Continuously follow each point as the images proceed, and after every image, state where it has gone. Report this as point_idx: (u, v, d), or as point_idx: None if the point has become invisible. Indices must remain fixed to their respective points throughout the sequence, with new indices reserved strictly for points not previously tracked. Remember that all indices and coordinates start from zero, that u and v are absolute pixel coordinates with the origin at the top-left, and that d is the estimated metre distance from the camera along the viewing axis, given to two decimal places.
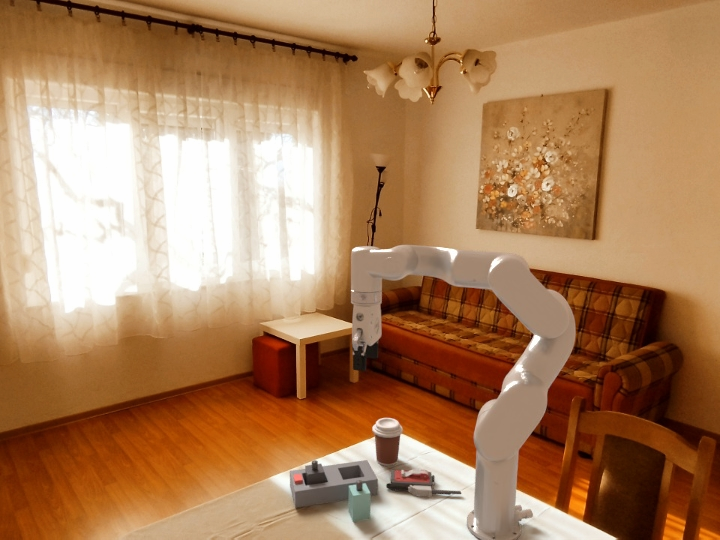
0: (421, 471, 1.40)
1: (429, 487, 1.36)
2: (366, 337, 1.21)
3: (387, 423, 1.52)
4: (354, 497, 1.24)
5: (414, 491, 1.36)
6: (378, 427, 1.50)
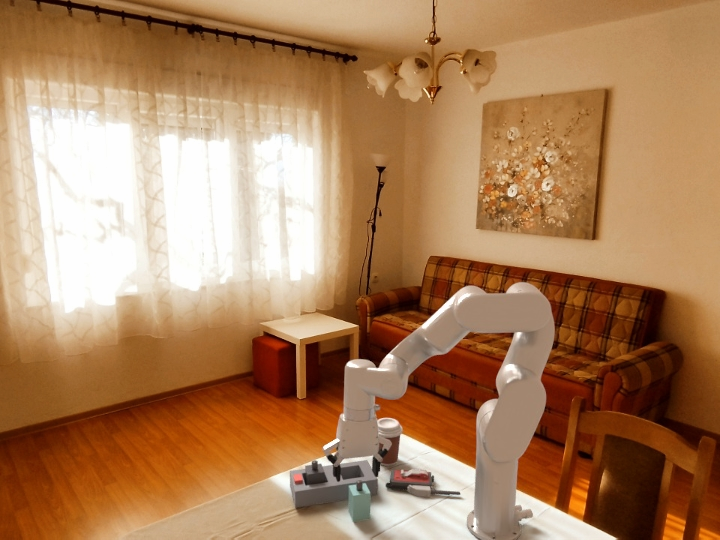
0: (421, 471, 1.40)
1: (428, 487, 1.36)
2: None
3: (387, 423, 1.52)
4: (354, 497, 1.24)
5: (413, 491, 1.36)
6: (378, 427, 1.50)
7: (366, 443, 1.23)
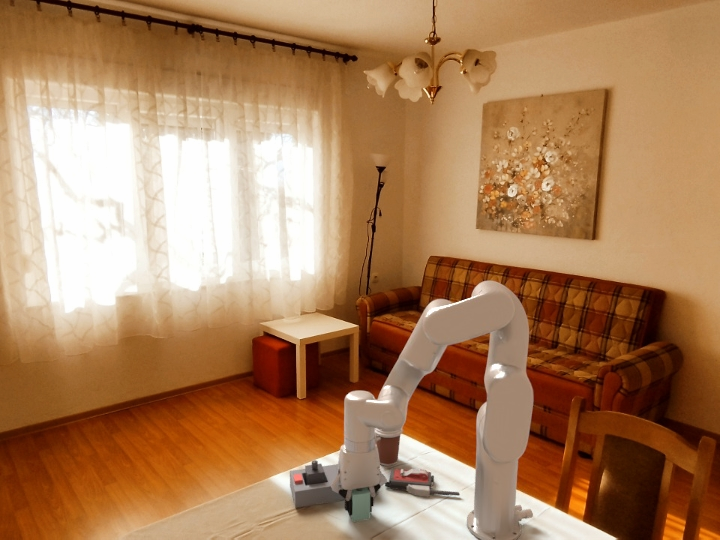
0: (420, 471, 1.40)
1: (427, 487, 1.36)
2: None
3: None
4: (354, 497, 1.24)
5: (412, 491, 1.36)
6: None
7: (367, 474, 1.24)
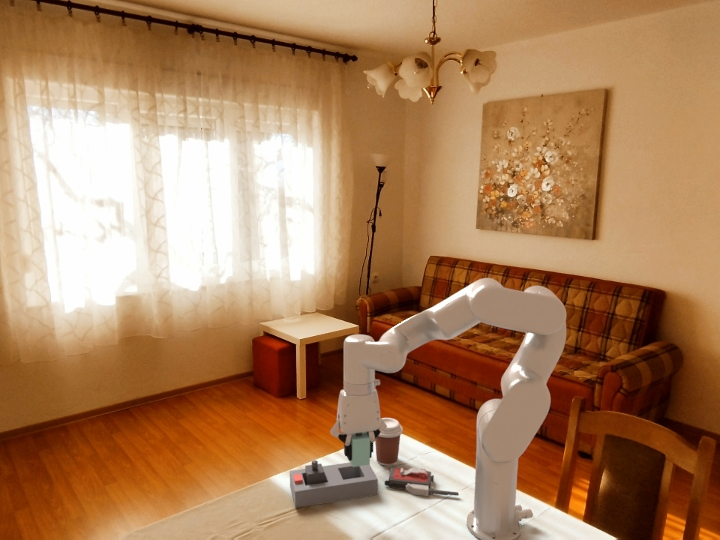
0: (420, 470, 1.40)
1: (426, 486, 1.36)
2: None
3: (387, 423, 1.52)
4: (354, 441, 1.23)
5: (411, 490, 1.37)
6: None
7: (367, 418, 1.23)
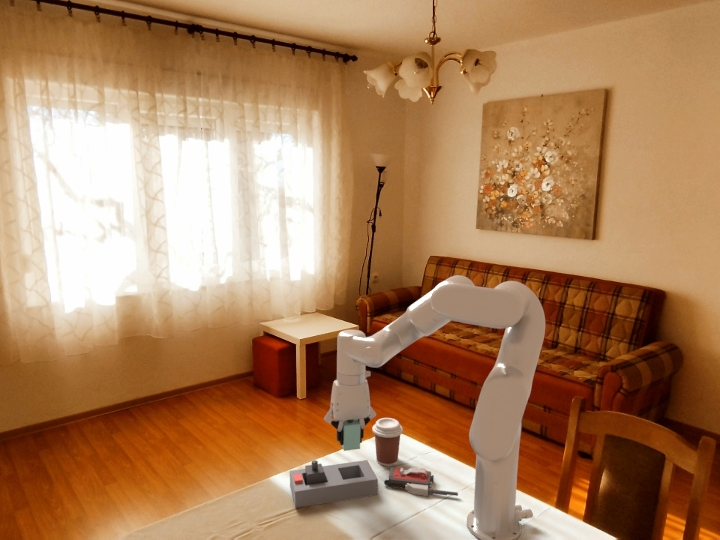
0: (420, 470, 1.41)
1: (426, 486, 1.36)
2: None
3: (387, 423, 1.52)
4: (345, 427, 1.34)
5: (411, 490, 1.37)
6: (378, 427, 1.50)
7: (358, 406, 1.34)
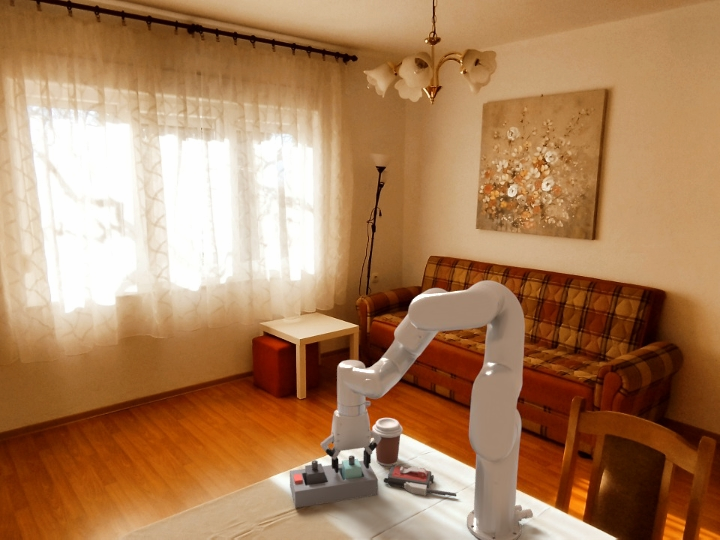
0: (420, 469, 1.41)
1: (424, 486, 1.37)
2: None
3: (387, 423, 1.52)
4: (347, 470, 1.36)
5: (409, 488, 1.37)
6: (378, 427, 1.50)
7: (359, 436, 1.35)
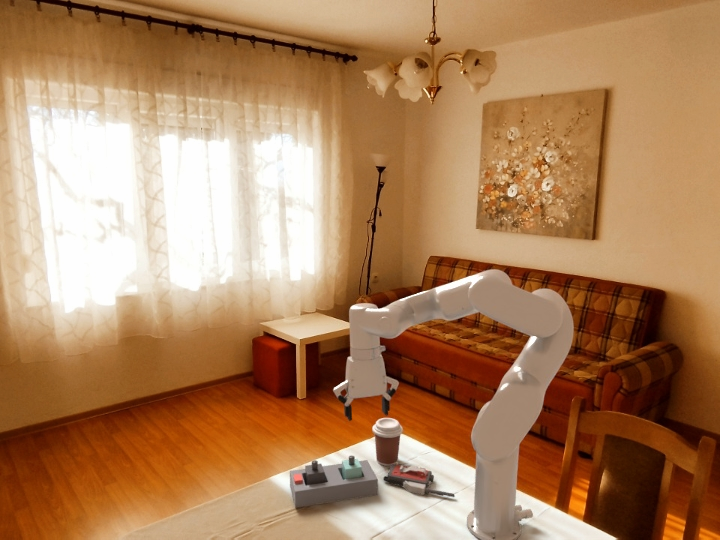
0: (419, 469, 1.41)
1: (423, 485, 1.37)
2: None
3: (387, 423, 1.52)
4: (347, 470, 1.36)
5: (408, 487, 1.38)
6: (378, 427, 1.50)
7: (374, 382, 1.29)
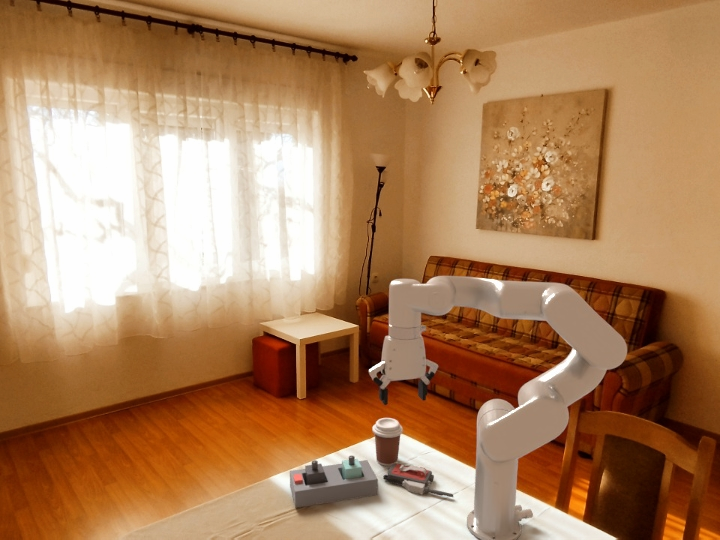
0: (419, 468, 1.41)
1: (422, 485, 1.37)
2: None
3: (387, 423, 1.52)
4: (347, 470, 1.36)
5: (407, 486, 1.38)
6: (378, 427, 1.50)
7: (413, 364, 1.19)
